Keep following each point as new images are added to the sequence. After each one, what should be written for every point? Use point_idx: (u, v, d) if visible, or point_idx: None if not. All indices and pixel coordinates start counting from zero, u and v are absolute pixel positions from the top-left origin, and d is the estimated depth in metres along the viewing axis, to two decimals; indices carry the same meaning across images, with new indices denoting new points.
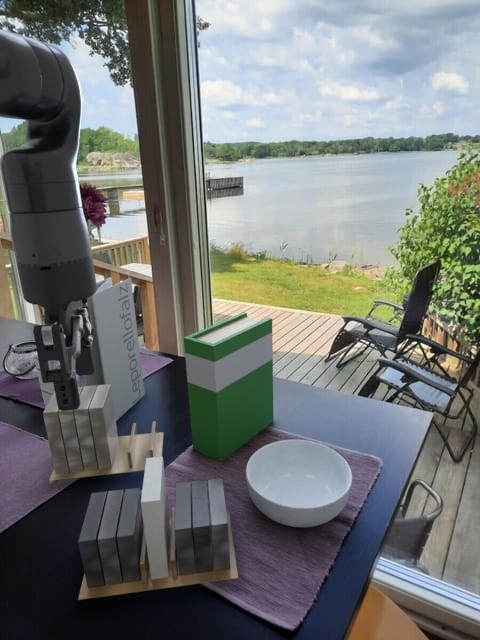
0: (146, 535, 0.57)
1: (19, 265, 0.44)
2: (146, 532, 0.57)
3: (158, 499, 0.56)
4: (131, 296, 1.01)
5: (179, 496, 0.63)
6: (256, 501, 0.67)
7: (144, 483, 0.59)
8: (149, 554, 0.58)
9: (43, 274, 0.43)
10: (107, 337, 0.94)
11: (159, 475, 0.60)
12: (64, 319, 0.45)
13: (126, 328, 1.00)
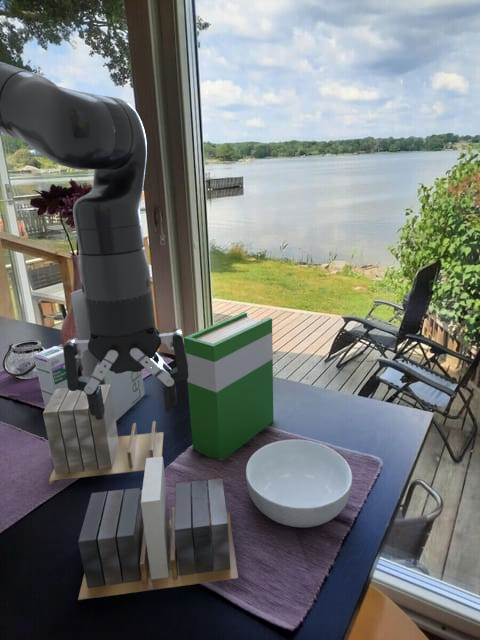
0: (146, 535, 0.57)
1: None
2: (146, 532, 0.57)
3: (158, 499, 0.56)
4: None
5: (179, 496, 0.63)
6: (256, 501, 0.67)
7: (144, 483, 0.59)
8: (149, 554, 0.58)
9: None
10: None
11: (159, 475, 0.60)
12: (90, 344, 0.51)
13: None
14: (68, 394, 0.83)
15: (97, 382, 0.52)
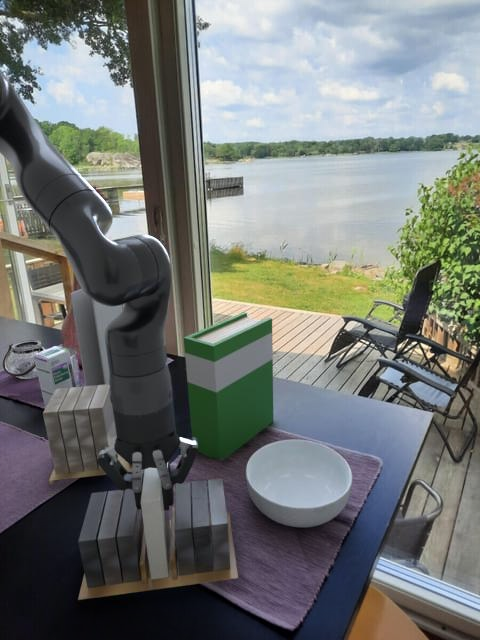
0: (146, 535, 0.57)
1: None
2: (146, 532, 0.57)
3: (158, 499, 0.56)
4: None
5: (179, 496, 0.63)
6: (256, 501, 0.67)
7: (144, 483, 0.59)
8: (149, 554, 0.58)
9: None
10: None
11: None
12: (116, 446, 0.56)
13: None
14: (68, 394, 0.83)
15: (139, 480, 0.58)
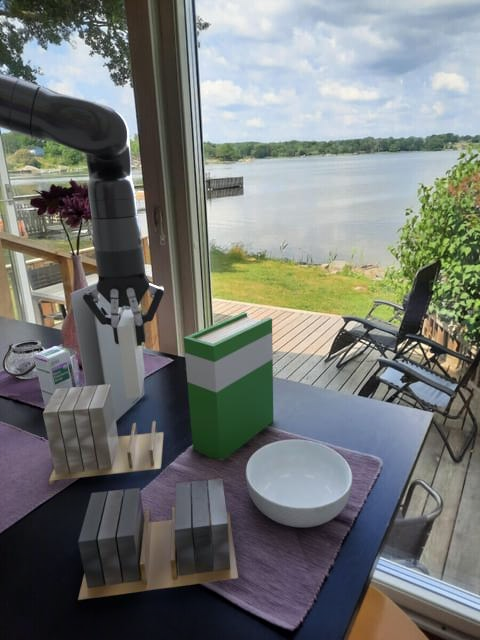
0: (121, 357, 0.72)
1: None
2: (121, 354, 0.72)
3: (130, 325, 0.71)
4: None
5: (179, 496, 0.63)
6: (256, 501, 0.67)
7: (120, 319, 0.74)
8: (124, 375, 0.73)
9: None
10: (107, 337, 0.94)
11: (133, 316, 0.75)
12: (98, 285, 0.71)
13: None
14: (68, 394, 0.83)
15: (117, 316, 0.73)
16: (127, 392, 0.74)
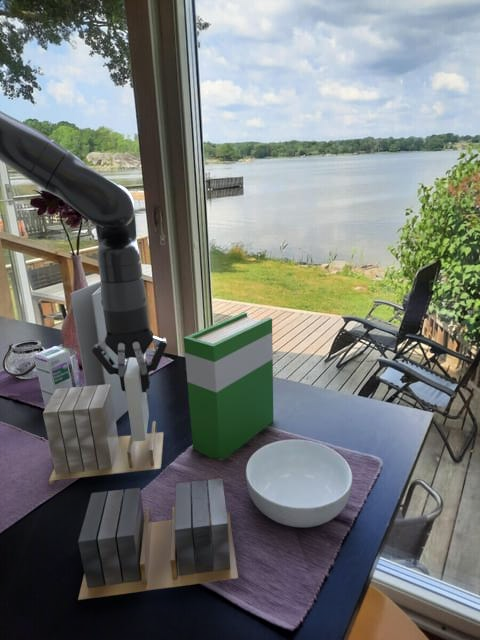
0: (128, 405, 0.78)
1: None
2: (128, 402, 0.78)
3: (136, 376, 0.77)
4: None
5: (179, 496, 0.63)
6: (256, 501, 0.67)
7: (127, 369, 0.80)
8: (130, 420, 0.79)
9: None
10: None
11: (138, 365, 0.81)
12: (106, 339, 0.78)
13: None
14: (68, 394, 0.83)
15: (123, 367, 0.79)
16: (133, 436, 0.81)
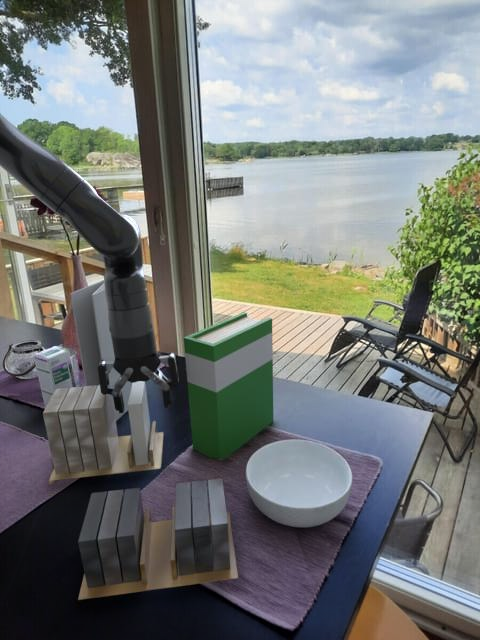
0: (132, 430, 0.80)
1: None
2: (131, 428, 0.80)
3: (140, 403, 0.79)
4: None
5: (179, 496, 0.63)
6: (256, 501, 0.67)
7: (130, 395, 0.82)
8: (134, 445, 0.81)
9: None
10: (107, 337, 0.94)
11: (141, 391, 0.83)
12: (114, 364, 0.79)
13: None
14: (68, 394, 0.83)
15: (120, 388, 0.81)
16: (136, 460, 0.82)
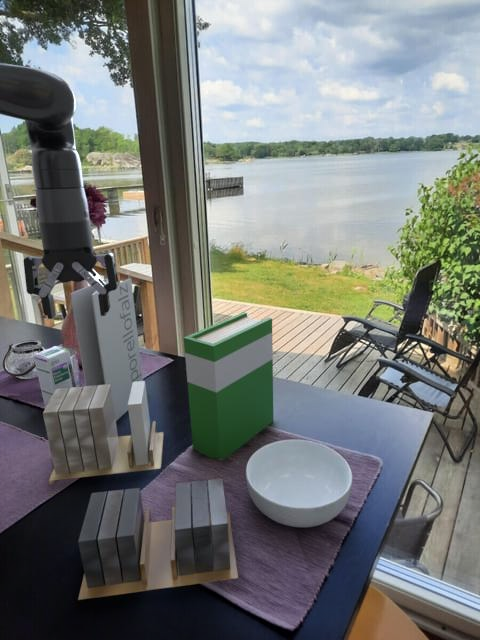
0: (132, 430, 0.80)
1: None
2: (131, 428, 0.80)
3: (140, 403, 0.79)
4: (131, 296, 1.01)
5: (179, 496, 0.63)
6: (256, 501, 0.67)
7: (130, 395, 0.82)
8: (134, 445, 0.81)
9: None
10: (107, 337, 0.94)
11: (141, 391, 0.83)
12: (43, 258, 0.70)
13: (126, 328, 1.00)
14: (68, 394, 0.83)
15: (48, 288, 0.71)
16: (136, 460, 0.82)
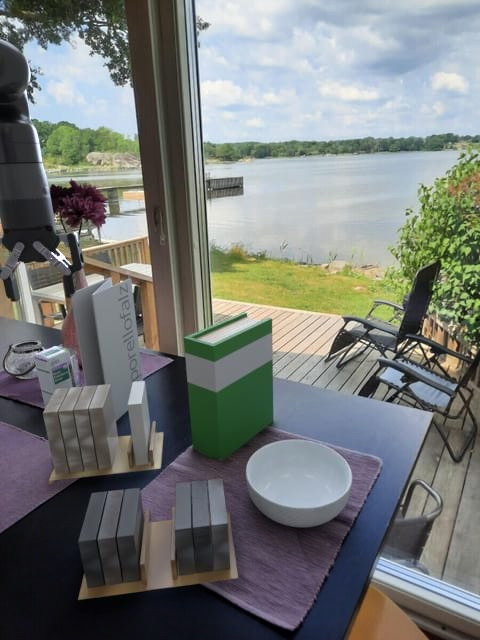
0: (132, 430, 0.80)
1: None
2: (131, 428, 0.80)
3: (140, 403, 0.79)
4: (131, 296, 1.01)
5: (179, 496, 0.63)
6: (256, 501, 0.67)
7: (130, 395, 0.82)
8: (134, 445, 0.81)
9: None
10: (107, 337, 0.94)
11: (141, 391, 0.83)
12: (3, 238, 0.67)
13: (126, 328, 1.00)
14: (68, 394, 0.83)
15: (10, 269, 0.69)
16: (136, 460, 0.82)
